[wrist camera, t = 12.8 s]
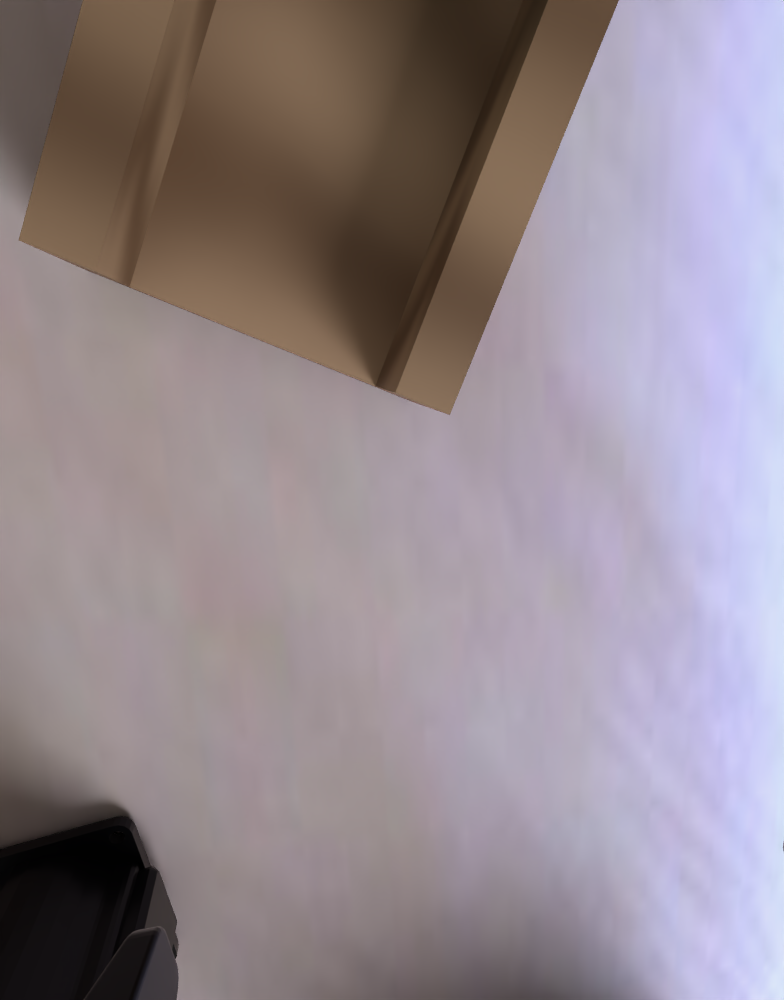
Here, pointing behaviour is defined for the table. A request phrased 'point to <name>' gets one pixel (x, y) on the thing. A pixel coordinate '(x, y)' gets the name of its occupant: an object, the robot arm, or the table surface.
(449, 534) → the table surface
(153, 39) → the tray
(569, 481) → the table surface
